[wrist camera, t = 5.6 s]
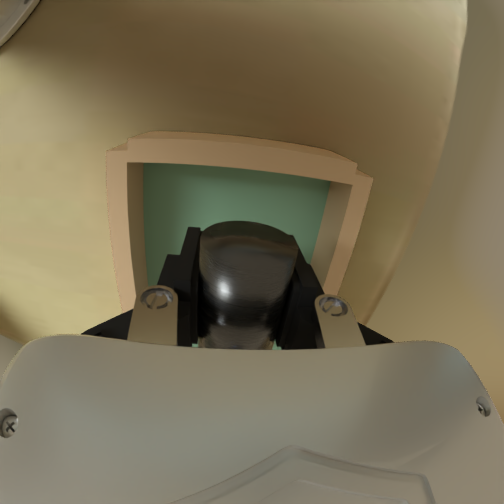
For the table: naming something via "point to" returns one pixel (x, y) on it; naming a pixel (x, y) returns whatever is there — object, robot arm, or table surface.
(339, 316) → the robot arm
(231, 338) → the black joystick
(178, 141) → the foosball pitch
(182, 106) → the table surface
